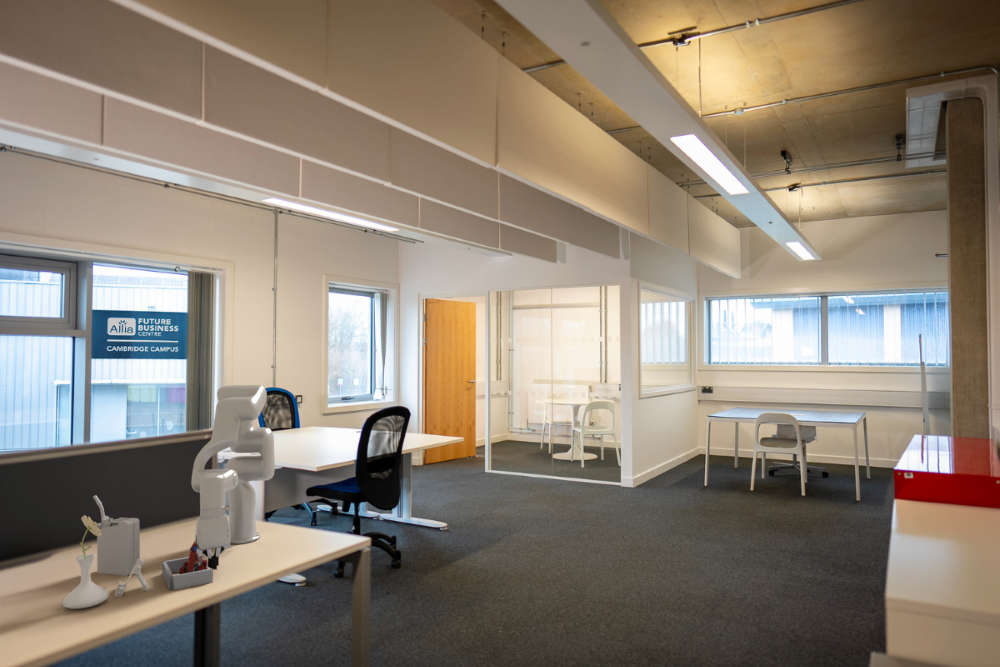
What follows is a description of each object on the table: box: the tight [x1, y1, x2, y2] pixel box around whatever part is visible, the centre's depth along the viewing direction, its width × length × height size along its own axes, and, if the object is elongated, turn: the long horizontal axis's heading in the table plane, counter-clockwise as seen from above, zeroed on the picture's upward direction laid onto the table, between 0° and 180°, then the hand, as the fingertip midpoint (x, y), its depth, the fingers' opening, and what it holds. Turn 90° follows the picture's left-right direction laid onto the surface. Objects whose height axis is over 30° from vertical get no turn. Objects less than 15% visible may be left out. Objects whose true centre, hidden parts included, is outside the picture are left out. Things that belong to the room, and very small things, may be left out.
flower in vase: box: [61, 514, 110, 610], centre depth 191 cm, size 13×11×25 cm
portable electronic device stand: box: [114, 557, 148, 598], centre depth 200 cm, size 9×8×8 cm
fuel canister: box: [92, 495, 141, 577], centre depth 218 cm, size 15×5×25 cm, turn 73°
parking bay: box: [161, 554, 214, 591], centre depth 211 cm, size 18×12×4 cm, turn 34°
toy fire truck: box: [178, 540, 209, 575], centre depth 212 cm, size 7×12×10 cm, turn 14°
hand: (213, 568), depth 215 cm, fingers closed
